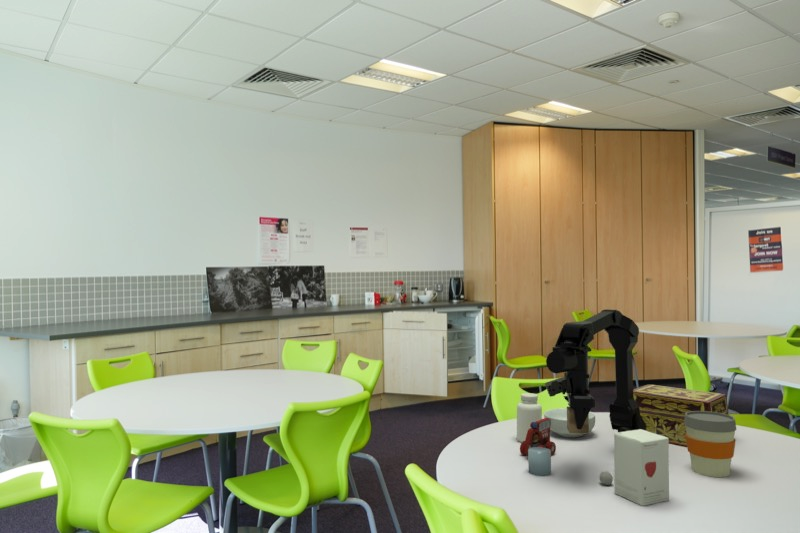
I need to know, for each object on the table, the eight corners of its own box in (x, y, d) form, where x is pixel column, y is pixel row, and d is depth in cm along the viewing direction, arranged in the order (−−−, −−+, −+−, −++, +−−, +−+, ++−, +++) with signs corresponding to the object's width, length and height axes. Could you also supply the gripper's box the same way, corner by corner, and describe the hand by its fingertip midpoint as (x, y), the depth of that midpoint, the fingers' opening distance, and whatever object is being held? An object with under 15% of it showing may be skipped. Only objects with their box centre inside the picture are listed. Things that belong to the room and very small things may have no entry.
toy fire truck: (515, 457, 167) (515, 421, 167) (539, 448, 175) (538, 414, 176) (536, 462, 162) (535, 426, 162) (559, 453, 170) (558, 418, 170)
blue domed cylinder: (551, 469, 156) (551, 448, 156) (550, 477, 150) (549, 454, 150) (529, 467, 158) (529, 446, 158) (527, 474, 152) (527, 452, 152)
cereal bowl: (554, 425, 202) (554, 405, 202) (602, 432, 192) (601, 411, 193) (536, 436, 188) (536, 415, 189) (586, 444, 179) (585, 422, 179)
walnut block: (585, 428, 156) (585, 407, 156) (588, 433, 151) (588, 411, 151) (567, 428, 156) (566, 406, 156) (569, 433, 151) (569, 410, 152)
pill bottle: (542, 445, 178) (542, 397, 179) (516, 443, 180) (516, 396, 180) (541, 438, 186) (541, 392, 186) (516, 436, 188) (516, 391, 188)
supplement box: (642, 507, 130) (641, 442, 130) (613, 493, 138) (612, 432, 139) (670, 500, 134) (669, 437, 134) (641, 487, 142) (640, 428, 142)
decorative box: (623, 435, 189) (622, 390, 190) (646, 424, 202) (646, 383, 202) (713, 453, 169) (712, 403, 170) (732, 440, 182) (731, 394, 183)
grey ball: (612, 482, 145) (612, 470, 145) (612, 487, 142) (612, 474, 142) (599, 481, 146) (599, 469, 146) (599, 485, 143) (599, 473, 143)
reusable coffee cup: (731, 466, 157) (730, 412, 157) (742, 481, 145) (741, 423, 146) (681, 461, 161) (680, 409, 162) (688, 476, 149) (687, 419, 150)
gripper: (543, 363, 164) (544, 417, 164) (550, 374, 146) (550, 434, 146) (583, 364, 162) (584, 418, 162) (594, 375, 144) (595, 436, 144)
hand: (577, 426), depth 153 cm, fingers closed on walnut block, 5 cm apart
